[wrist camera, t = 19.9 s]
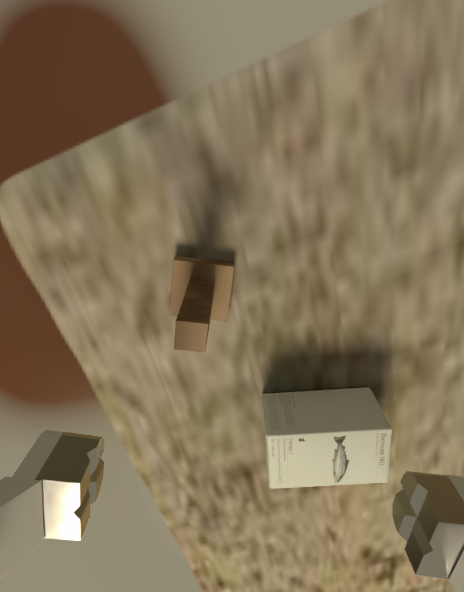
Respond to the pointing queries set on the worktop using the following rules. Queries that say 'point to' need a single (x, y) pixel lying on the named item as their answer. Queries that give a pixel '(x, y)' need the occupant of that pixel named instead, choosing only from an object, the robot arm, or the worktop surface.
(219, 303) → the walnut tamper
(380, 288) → the worktop surface
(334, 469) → the supplement box
